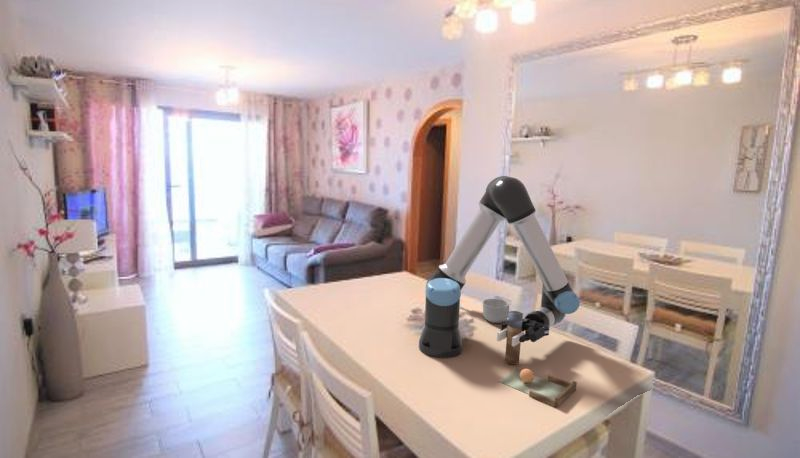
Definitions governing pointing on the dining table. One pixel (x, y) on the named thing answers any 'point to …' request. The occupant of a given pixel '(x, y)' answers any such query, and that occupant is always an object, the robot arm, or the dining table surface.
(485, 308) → the teacup
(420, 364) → the dining table surface
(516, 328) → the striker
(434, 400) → the dining table surface
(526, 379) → the ball
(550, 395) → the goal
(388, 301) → the dining table surface
